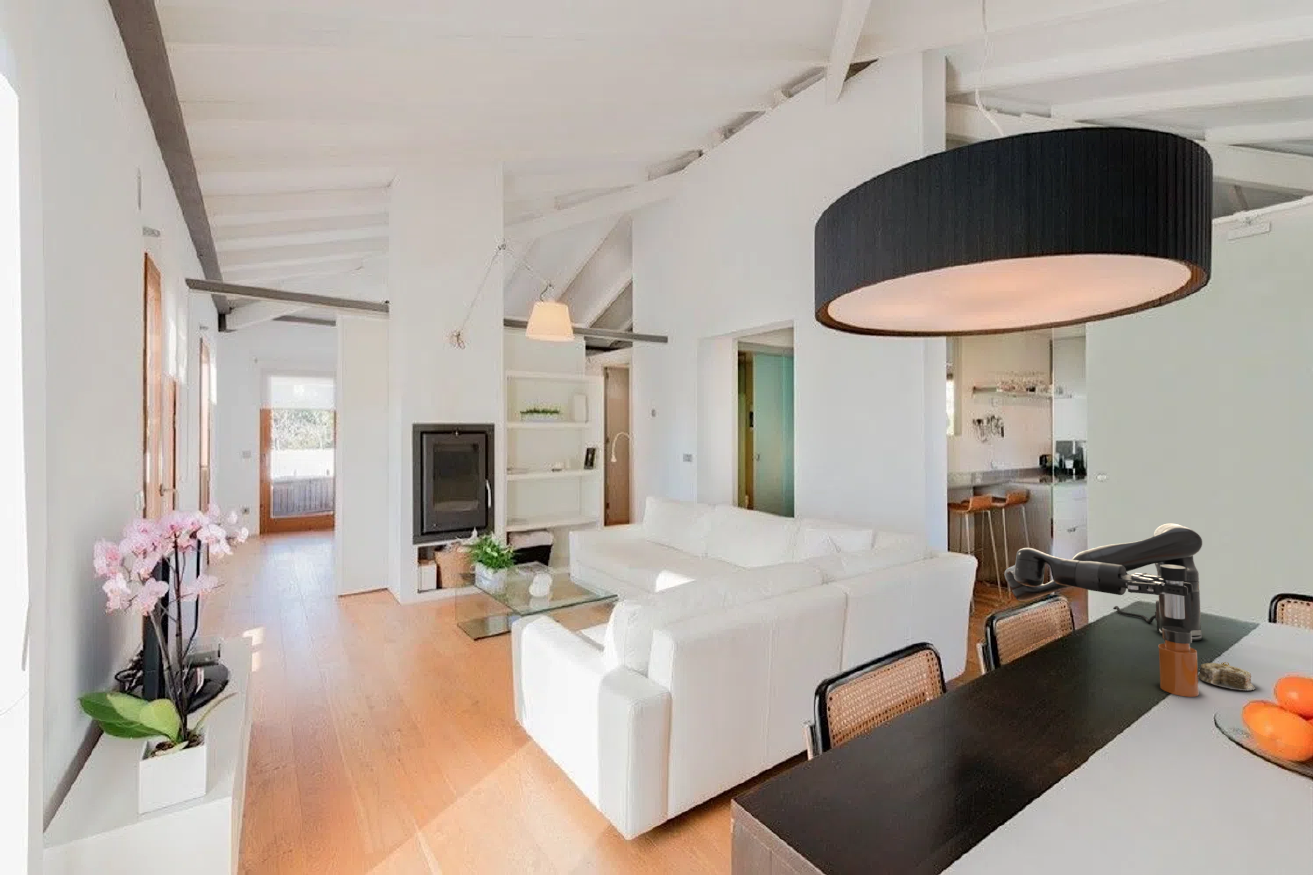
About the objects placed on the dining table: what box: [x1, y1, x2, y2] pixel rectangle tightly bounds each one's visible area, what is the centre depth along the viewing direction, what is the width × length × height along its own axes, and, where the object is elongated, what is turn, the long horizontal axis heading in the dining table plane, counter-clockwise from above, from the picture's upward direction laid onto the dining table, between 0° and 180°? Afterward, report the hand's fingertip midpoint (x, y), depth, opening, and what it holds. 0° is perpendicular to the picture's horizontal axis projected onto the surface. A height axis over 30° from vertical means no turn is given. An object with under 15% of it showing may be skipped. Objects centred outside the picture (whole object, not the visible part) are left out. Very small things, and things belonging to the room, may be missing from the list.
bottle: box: [1157, 626, 1200, 698], centre depth 137 cm, size 7×7×14 cm
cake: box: [1198, 661, 1256, 691], centre depth 140 cm, size 10×10×5 cm
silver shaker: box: [1160, 565, 1186, 619], centre depth 137 cm, size 5×5×12 cm
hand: (1189, 589), depth 135 cm, fingers closed on silver shaker, 3 cm apart
